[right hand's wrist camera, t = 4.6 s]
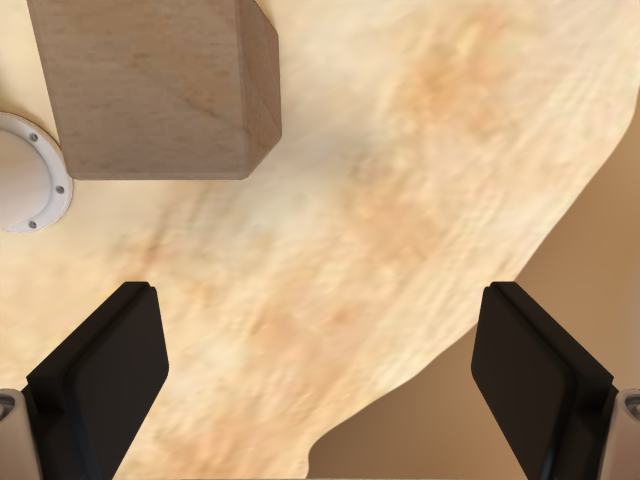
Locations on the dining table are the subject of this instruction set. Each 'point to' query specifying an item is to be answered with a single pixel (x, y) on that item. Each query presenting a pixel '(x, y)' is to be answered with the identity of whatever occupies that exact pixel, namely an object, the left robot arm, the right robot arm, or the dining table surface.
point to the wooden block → (160, 86)
